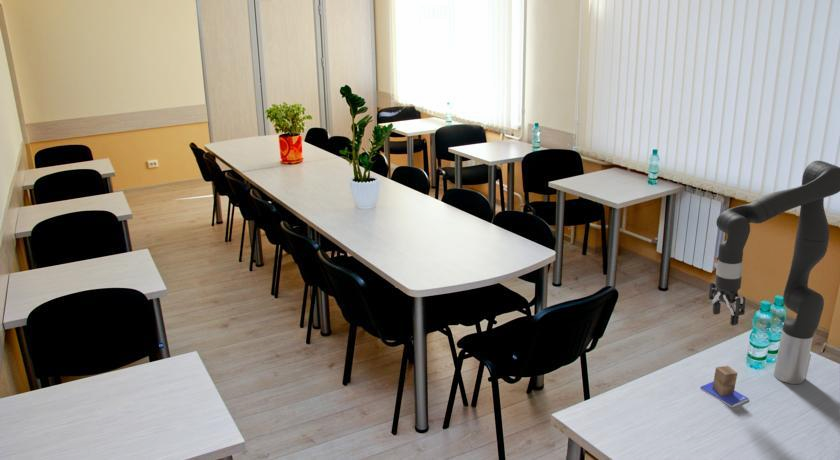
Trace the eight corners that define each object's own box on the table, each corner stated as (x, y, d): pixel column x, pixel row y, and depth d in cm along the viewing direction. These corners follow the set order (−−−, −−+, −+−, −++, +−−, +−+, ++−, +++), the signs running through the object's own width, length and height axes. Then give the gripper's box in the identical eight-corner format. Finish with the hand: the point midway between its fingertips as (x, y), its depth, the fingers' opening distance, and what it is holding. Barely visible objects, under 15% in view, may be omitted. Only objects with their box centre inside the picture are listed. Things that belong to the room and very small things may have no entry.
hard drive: (749, 397, 224) (716, 379, 234) (732, 404, 220) (700, 386, 230) (748, 401, 224) (716, 383, 234) (731, 409, 220) (699, 390, 230)
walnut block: (724, 386, 230) (728, 365, 227) (733, 394, 225) (737, 372, 223) (712, 388, 228) (716, 367, 226) (721, 396, 224) (725, 374, 222)
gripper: (754, 279, 213) (750, 326, 218) (724, 263, 226) (720, 308, 231) (733, 283, 211) (729, 330, 217) (704, 267, 224) (700, 312, 230)
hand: (724, 319), depth 224 cm, fingers open, 8 cm apart
